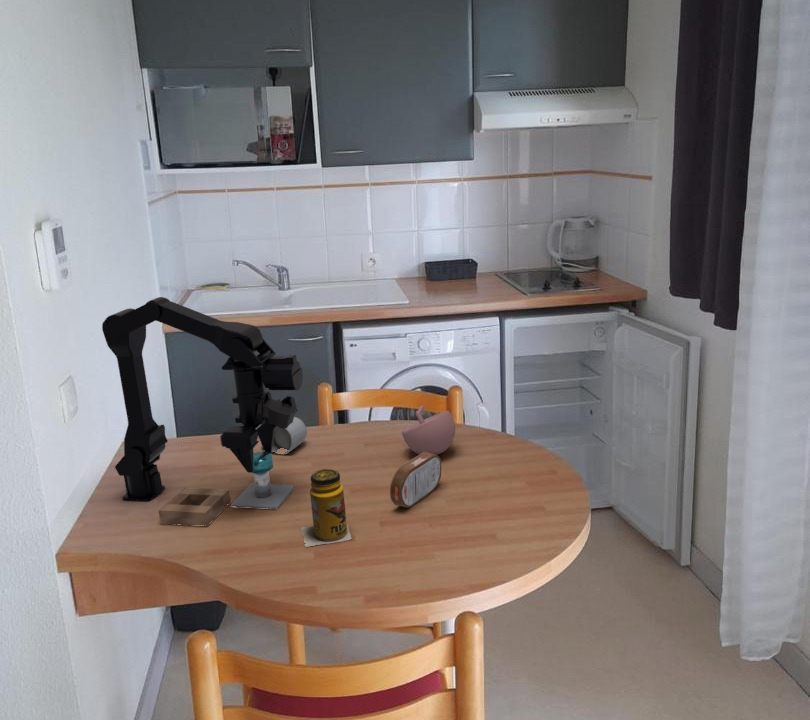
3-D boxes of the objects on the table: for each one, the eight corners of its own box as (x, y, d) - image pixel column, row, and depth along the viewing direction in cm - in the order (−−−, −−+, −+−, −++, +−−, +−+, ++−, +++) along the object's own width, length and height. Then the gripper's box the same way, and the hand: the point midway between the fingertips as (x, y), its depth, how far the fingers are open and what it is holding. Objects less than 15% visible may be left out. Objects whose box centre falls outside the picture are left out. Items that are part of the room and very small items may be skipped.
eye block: (160, 524, 145) (158, 510, 144) (186, 500, 155) (184, 487, 154) (207, 527, 143) (205, 512, 142) (230, 503, 152) (228, 489, 151)
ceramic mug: (310, 443, 181) (306, 413, 179) (294, 456, 174) (290, 425, 172) (272, 440, 185) (268, 411, 183) (255, 453, 177) (250, 423, 175)
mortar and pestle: (423, 440, 178) (420, 395, 175) (466, 449, 171) (464, 402, 168) (393, 458, 169) (389, 410, 166) (437, 468, 162) (434, 419, 159)
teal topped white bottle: (270, 501, 151) (265, 462, 148) (246, 499, 152) (241, 461, 150) (280, 489, 155) (275, 451, 153) (257, 488, 157) (252, 451, 154)
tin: (432, 482, 156) (430, 444, 153) (445, 485, 154) (443, 447, 152) (390, 512, 144) (386, 472, 142) (403, 516, 142) (400, 475, 140)
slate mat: (230, 507, 150) (230, 505, 150) (251, 486, 160) (251, 483, 159) (277, 510, 148) (276, 507, 148) (295, 488, 157) (295, 485, 157)
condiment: (352, 540, 135) (346, 479, 131) (305, 548, 133) (298, 486, 130) (346, 521, 142) (340, 463, 138) (301, 529, 140) (294, 470, 137)
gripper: (269, 406, 137) (279, 484, 141) (305, 375, 154) (312, 446, 158) (214, 405, 139) (225, 482, 144) (255, 375, 157) (264, 444, 161)
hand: (259, 462), depth 152 cm, fingers open, 9 cm apart
